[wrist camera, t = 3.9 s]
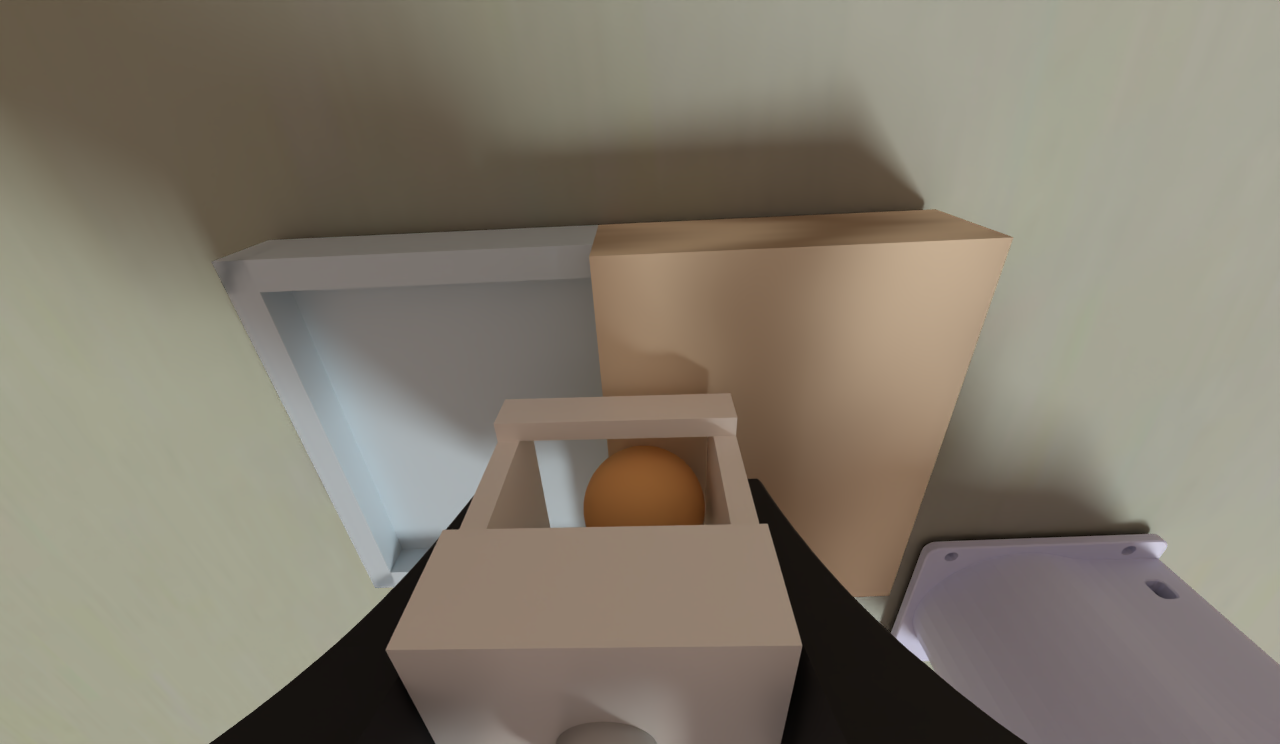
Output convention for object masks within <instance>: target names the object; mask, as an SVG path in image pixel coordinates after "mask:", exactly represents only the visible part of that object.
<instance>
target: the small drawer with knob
mask: <svg viewBox="0 0 1280 744" xmlns="http://www.w3.org/2000/svg"><path fill="white" fill-rule="evenodd" d="M494 428H495V432H496V437H497V441H498V442H497V445H496V447H495V449H494V451H493V454H492V456H491V458H490V460H489V463H488V465H487V467H486V470H485V472H484V474H483V476H482V479H481V481H480V483H479V485H478V488H477V490H476V492H475V495H474V497H473V499H472V501H471V504H470V506H469V508H468V510H467V513H466V515H465V517H464V520H463V522H462V524H461V526H460V529H459V530H443V531H442V533H441V535H440V537H439V539H438V541H437V543H436V545H435V547H434V549H433V551H432V554H431V556H430V558H429V560H428V562H427V564H426V566H425V568H424V570H423V572H422V575H421V577H420V579H419V581H418V583H417V585H416V587H415V589H414V591H413V593H412V595H411V598H410V600H409V602H408V604H407V606H406V608H405V610H404V612H403V614H402V616H401V618H400V621H399V623H398V625H397V627H396V629H395V631H394V633H393V635H392V637H391V639H390V641H389V644H388V646H387V648H386V652H387V654H388V656H389V658H390V660H391V661H392V663H393V665H394V667H395V669H396V671H397V673H398V674H399V676H400V678H401V680H402V682H403V684H404V686H405V688H406V689H407V691H408V693H409V695H410V697H411V699H412V701H413V703H414V704H415V706H416V708H417V710H418V712H419V714H420V716H421V718H422V719H423V721H424V723H425V725H426V727H427V729H428V731H429V732H430V734H431V736H432V738H433V740H434V742H435V744H781V740H782V736H783V731H784V727H785V722H786V717H787V713H788V708H789V704H790V699H791V695H792V690H793V686H794V681H795V677H796V672H797V668H798V663H799V659H800V654H801V650H802V642H801V639H800V635H799V632H798V628H797V625H796V621H795V618H794V614H793V611H792V607H791V604H790V600H789V597H788V593H787V590H786V586H785V583H784V579H783V576H782V572H781V569H780V565H779V562H778V558H777V555H776V551H775V548H774V544H773V541H772V537H771V534H770V530H769V527H768V524H759V520H758V517H757V513H756V509H755V505H754V502H753V498H752V494H751V490H750V487H749V483H748V479H747V475H746V472H745V468H744V464H743V460H742V457H741V453H740V449H739V445H738V441H737V438H736V429H737V415H736V411H735V408H734V404H733V401H732V397H731V394H730V393H718V394H681V395H645V396H609V397H573V398H537V399H505V401H504V403H503V405H502V407H501V409H500V411H499V413H498V415H497V418H496V420H495V422H494ZM670 437H708V441H707V468H706V495H705V522H704V525H674V526H620V527H567V528H550V523H549V517H548V512H547V507H546V502H545V497H544V491H543V486H542V481H541V476H540V471H539V465H538V460H537V455H536V450H535V444H534V441H548V440H589V439H629V438H670Z"/></svg>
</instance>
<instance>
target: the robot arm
mask: <svg viewBox="0 0 1280 744" xmlns="http://www.w3.org/2000/svg"><path fill="white" fill-rule="evenodd" d="M748 483H749V487H750V490H751V494H752V498H753V502H754V505H755V509H756V513H757V517H758V520H759V524H768V527H769V530H770V534H771V537H772V541H773V544H774V548H775V551H776V555H777V558H778V562H779V565H780V569H781V572H782V576H783V579H784V583H785V586H786V590H787V593H788V597H789V600H790V604H791V607H792V611H793V614H794V618H795V621H796V625H797V628H798V632H799V635H800V639H801V642H802V650H801V654H800V659H799V663H798V668H797V672H796V677H795V681H794V686H793V690H792V695H791V699H790V704H789V708H788V713H787V717H786V722H785V727H784V731H783V736H782V740H781V744H1280V665H1279V664H1278V663H1277V662H1276V661H1274V660H1273V659H1272V658H1271V657H1270V656H1269V655H1268V654H1266V653H1265V652H1264V651H1263V650H1262V649H1261V648H1260V647H1258V646H1257V645H1256V644H1255V643H1254V642H1253V641H1252V640H1250V639H1249V638H1248V637H1247V636H1246V635H1245V634H1244V633H1242V632H1241V631H1240V630H1239V629H1238V628H1237V627H1236V626H1234V625H1233V624H1232V623H1231V622H1230V621H1229V620H1228V619H1226V618H1225V617H1224V616H1223V615H1222V614H1221V613H1220V612H1218V611H1217V610H1216V609H1215V608H1214V607H1213V606H1212V605H1210V604H1209V603H1208V602H1207V601H1206V600H1205V599H1204V598H1202V597H1201V596H1200V595H1199V594H1198V593H1197V592H1196V591H1194V590H1193V589H1192V588H1191V587H1190V586H1189V585H1188V584H1186V583H1185V582H1184V581H1183V580H1182V579H1181V578H1180V577H1178V576H1177V575H1176V574H1175V573H1174V572H1173V571H1172V570H1170V569H1169V568H1168V567H1167V566H1166V565H1165V564H1164V563H1162V562H1161V561H1160V560H1159V558H1160V556H1161V555H1162V554H1163V552H1164V551H1165V550H1166V548H1167V542H1166V541H1164V540H1163V539H1162V538H1161V537H1160V536H1158V535H1157V534H1132V535H1104V536H1077V537H1049V538H1021V539H993V540H966V541H938V542H931V543H929V544H927V545H926V546H924V548H923V549H922V551H921V554H920V556H919V559H918V562H917V564H916V567H915V570H914V572H913V575H912V578H911V580H910V583H909V586H908V588H907V591H906V594H905V597H904V599H903V602H902V605H901V607H900V610H899V613H898V615H897V618H896V621H895V623H894V626H893V629H892V631H891V633H890V632H889V631H888V630H887V629H885V628H884V627H883V626H882V625H881V624H880V623H879V622H878V621H877V620H876V619H875V618H874V617H873V616H872V615H871V614H870V613H869V612H868V611H867V610H866V609H865V608H864V607H863V606H862V605H861V604H860V603H859V602H858V601H857V600H856V599H855V598H854V597H853V596H852V595H851V594H850V593H849V592H848V591H847V590H846V589H845V587H844V586H843V585H842V584H841V583H840V582H839V581H838V580H837V579H836V578H835V576H834V575H833V574H832V573H831V572H830V571H829V570H828V569H827V568H826V566H825V565H824V564H823V563H822V562H821V561H820V559H819V558H818V557H817V556H816V555H815V553H814V552H813V551H812V550H811V549H810V547H809V546H808V545H807V544H806V542H805V541H804V540H803V539H802V537H801V536H800V535H799V534H798V532H797V531H796V530H795V529H794V527H793V526H792V525H791V523H790V522H789V521H788V519H787V518H786V517H785V515H784V514H783V513H782V511H781V510H780V509H779V507H778V506H777V504H776V503H775V502H774V500H773V499H772V497H771V496H770V494H769V493H768V491H767V490H766V488H765V487H764V485H763V484H762V482H761V481H760V480H758V479H748ZM473 497H474V496H473ZM473 497H472V498H471V499H470V501H469V502H468V503H467V504H466V505H465V507H464V508H463V509H462V510H461V512H460V513H459V514H458V515H457V517H456V518H455V519H454V520H453V521H452V523H451V524H450V525H449V526H448V527H447V529H446V530H459V529H460V526H461V524H462V522H463V520H464V517H465V515H466V513H467V510H468V508H469V506H470V504H471V501H472V499H473ZM438 539H439V538H438ZM438 539H437V540H436V542H435V543H434V544H433V545H432V546H431V547H430V548H429V550H428V551H427V552H426V553H425V554H424V555H423V557H422V558H421V559H420V560H419V561H418V562H417V563H416V564H415V566H414V567H413V568H412V569H411V570H410V571H409V572H408V573H407V574H406V575H405V576H404V577H403V578H402V579H401V581H400V582H399V583H398V584H397V585H396V586H395V587H394V588H393V589H392V590H391V591H390V592H389V593H388V594H387V595H386V596H385V597H384V598H383V599H382V600H381V601H380V602H379V603H378V604H377V605H376V606H375V607H374V608H373V609H372V610H371V611H370V612H369V613H368V614H367V615H366V616H365V617H364V618H363V619H362V620H361V621H360V622H359V623H358V624H357V625H356V626H355V627H354V628H353V629H351V630H350V631H349V632H348V633H347V634H346V635H345V636H344V637H343V638H342V639H341V640H340V641H338V642H337V643H336V644H335V645H334V646H333V647H332V648H330V649H329V650H328V651H327V652H326V653H325V654H323V655H322V656H321V657H320V658H319V659H318V660H316V661H315V662H314V663H313V664H312V665H310V666H309V667H308V668H307V669H306V670H304V671H303V672H302V673H301V674H300V675H298V676H297V677H296V678H295V679H294V680H292V681H291V682H290V683H289V684H288V685H286V686H285V687H284V688H283V689H281V690H280V691H279V692H278V693H276V694H275V695H274V696H272V697H271V698H270V699H269V700H267V701H266V702H265V703H263V704H262V705H261V706H259V707H258V708H257V709H256V710H254V711H253V712H252V713H250V714H249V715H248V716H246V717H245V718H244V719H242V720H241V721H240V722H238V723H237V724H235V725H234V726H233V727H231V728H230V729H229V730H227V731H226V732H225V733H223V734H222V735H221V736H219V737H218V738H216V739H215V740H214V741H212V742H211V743H209V744H435V742H434V740H433V738H432V736H431V734H430V732H429V731H428V729H427V727H426V725H425V723H424V721H423V719H422V718H421V716H420V714H419V712H418V710H417V708H416V706H415V704H414V703H413V701H412V699H411V697H410V695H409V693H408V691H407V689H406V688H405V686H404V684H403V682H402V680H401V678H400V676H399V674H398V673H397V671H396V669H395V667H394V665H393V663H392V661H391V660H390V658H389V656H388V654H387V652H386V648H387V646H388V644H389V641H390V639H391V637H392V635H393V633H394V631H395V629H396V627H397V625H398V623H399V621H400V618H401V616H402V614H403V612H404V610H405V608H406V606H407V604H408V602H409V600H410V598H411V595H412V593H413V591H414V589H415V587H416V585H417V583H418V581H419V579H420V577H421V575H422V572H423V570H424V568H425V566H426V564H427V562H428V560H429V558H430V556H431V554H432V551H433V549H434V547H435V545H436V543H437V541H438ZM922 661H930V663H931V665H932V667H933V669H934V670H935V672H936V673H935V672H934V671H933V670H932V669H931V668H930V667H928V666H927V665H926V664H925V663H924V662H922Z"/></svg>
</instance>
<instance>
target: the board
mask: <svg viewBox="0 0 1280 744" xmlns="http://www.w3.org/2000/svg"><path fill="white" fill-rule="evenodd" d="M1012 240H1013V237H1011V236H1008V235H1005V234H1002V233H1000V232H997V231H994V230H991V229H988V228H986V227H983V226H980V225H977V224H975V223H972V222H969V221H966V220H963V219H961V218H958V217H955V216H952V215H950V214H947V213H944V212H941V211H938V210H936V209H932V210H911V211H889V212H867V213H845V214H824V215H802V216H780V217H758V218H737V219H715V220H693V221H671V222H650V223H628V224H606V225H598V228H597V232H596V235H595V238H594V242H593V245H592V248H591V252H590V255H589V261H590V271H591V281H592V292H593V302H594V312H595V322H596V333H597V343H598V353H599V363H600V373H601V384H602V394H603V397H609V396H645V395H681V394H718V393H730V394H731V397H732V401H733V404H734V408H735V411H736V415H737V429H736V438H737V441H738V445H739V449H740V453H741V457H742V460H743V464H744V468H745V472H746V475H747V479H758V480H760V481H761V482H762V484H763V485H764V487H765V488H766V490H767V491H768V493H769V494H770V496H771V497H772V499H773V500H774V502H775V503H776V504H777V506H778V507H779V509H780V510H781V511H782V513H783V514H784V515H785V517H786V518H787V519H788V521H789V522H790V523H791V525H792V526H793V527H794V529H795V530H796V531H797V532H798V534H799V535H800V536H801V537H802V539H803V540H804V541H805V542H806V544H807V545H808V546H809V547H810V549H811V550H812V551H813V552H814V553H815V555H816V556H817V557H818V558H819V559H820V561H821V562H822V563H823V564H824V565H825V566H826V568H827V569H828V570H829V571H830V572H831V573H832V574H833V575H834V576H835V578H836V579H837V580H838V581H839V582H840V583H841V584H842V585H843V586H844V587H845V589H846V590H847V591H848V592H849V593H850V594H851V595H852V596H853V597H867V596H889V595H890V592H891V589H892V586H893V583H894V580H895V578H896V575H897V572H898V569H899V566H900V563H901V560H902V557H903V555H904V552H905V549H906V546H907V543H908V540H909V537H910V534H911V531H912V529H913V526H914V523H915V520H916V517H917V514H918V511H919V508H920V505H921V503H922V500H923V497H924V494H925V491H926V488H927V485H928V482H929V479H930V477H931V474H932V471H933V468H934V465H935V462H936V459H937V456H938V454H939V451H940V448H941V445H942V442H943V439H944V436H945V433H946V430H947V428H948V425H949V422H950V419H951V416H952V413H953V410H954V407H955V404H956V402H957V399H958V396H959V393H960V390H961V387H962V384H963V381H964V378H965V376H966V373H967V370H968V367H969V364H970V361H971V358H972V355H973V353H974V350H975V347H976V344H977V341H978V338H979V335H980V332H981V329H982V327H983V324H984V321H985V318H986V315H987V312H988V309H989V306H990V303H991V301H992V298H993V295H994V292H995V289H996V286H997V283H998V280H999V278H1000V275H1001V272H1002V269H1003V266H1004V263H1005V260H1006V257H1007V254H1008V252H1009V249H1010V246H1011V243H1012ZM707 441H708V437H670V438H629V439H607V445H608V455H609V457H610V456H611V455H613V454H615V453H616V452H618V451H621V450H623V449H626V448H629V447H633V446H655V447H659V448H662V449H665V450H667V451H670V452H672V453H674V454H675V455H677V456H678V457H680V458H681V459H682V460H683V461H684V462H685V463H686V464H687V465H688V466H689V467H690V468H691V469H692V471H693V472H694V473H695V475H696V477H697V478H698V481H699V483H700V485H701V488H702V491H703V495H704V501H705V495H706V468H707ZM704 522H705V517H704ZM703 525H704V523H703Z"/></svg>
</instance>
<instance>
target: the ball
mask: <svg viewBox="0 0 1280 744" xmlns="http://www.w3.org/2000/svg"><path fill="white" fill-rule="evenodd" d="M704 517H705V501H704V495H703V491H702V488H701V485H700V483H699V481H698V478H697V477H696V475H695V473H694V472H693V471H692V469H691V468H690V467H689V466H688V465H687V464H686V463H685V462H684V461H683V460H682V459H681V458H680V457H678V456H677V455H675V454H674V453H672V452H670V451H667V450H665V449H662V448H659V447H655V446H633V447H629V448H626V449H623V450H621V451H618V452H616V453H615V454H613V455H611V456H610V457H609V458H607V459H606V460H605V461H604V462H603V463H602V464H601V465H600V466H599V467H598V468H597V470H596V471H595V472H594V474H593V475H592V477H591V479H590V481H589V484H588V486H587V489H586V492H585V497H584V520H585V525H586V527H620V526H674V525H703V523H704Z"/></svg>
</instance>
